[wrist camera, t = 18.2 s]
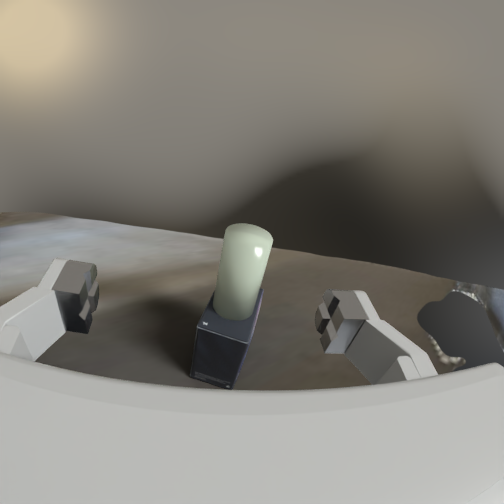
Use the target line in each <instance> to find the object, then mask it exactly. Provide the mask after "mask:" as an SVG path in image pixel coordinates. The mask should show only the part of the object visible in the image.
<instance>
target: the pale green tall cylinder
mask: <svg viewBox="0 0 504 504" xmlns="http://www.w3.org/2000/svg"><path fill="white" fill-rule="evenodd" d="M272 243H273V238H272V236H271V235H270V233H268V232H267V231H266V230H264V229H262V228H260V227H258V226H255V225H251V224H244V223H240V224H233V225H231V226H229V227H228V228H227V229H226V231H225V236H224V242H223V247H222V253H221V258H220V264H219V270H218V276H217V281H216V287H215V293H214V299H213V308H214V310H215V311H216V313H217V314H219V315H220V316H221V317H223V318H225V319H228V320H233V321H241V320H245V319H247V318H249V317H250V316H251V315H252V313H253V310H254V307H255V303H256V300H257V296H258V293H259V289H260V286H261V282H262V279H263V275H264V271H265V268H266V264H267V261H268V257H269V254H270V250H271V246H272Z"/></svg>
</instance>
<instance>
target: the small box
mask: <svg viewBox="0 0 504 504" xmlns="http://www.w3.org/2000/svg"><path fill="white" fill-rule="evenodd" d="M263 291H264V290H263V289H259V293H258V296H257V300H256V303H255V307H254V310H253V313H252V315H251V316H250V317H249V318H247V319H245V320H241V321H233V320H228V319H225V318H223V317H221V316H220V315H219V314H217V313H216V311H215V310H214V308H213V299H214V293H215V291H214V292H213V294H212V296H211V298H210V300H209V302H208V304H207V307H206V308H205V310H204V312H203V314H202V316H201V318H200V320H199V323H198V324H197V328H196V335H195V343H194V349H193V358H192V365H191V371H190V377H192V378H194V379H198V380H201V381H204V382H207V383H210V384H213V385H216V386H219V387H222V388H226V389H229V390H232V389H233V387H234V385H235V382H236V380H237V378H238V375H239V373H240V370H241V367H242V364H243V361H244V359H245V356H246V353H247V350H248V347H249V344H250V341H251V338H252V335H253V332H254V328H255V324H256V321H257V317H258V313H259V309H260V305H261V300H262V295H263Z"/></svg>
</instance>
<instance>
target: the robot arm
mask: <svg viewBox="0 0 504 504" xmlns="http://www.w3.org/2000/svg"><path fill="white" fill-rule="evenodd" d="M96 276H97V269H96V265H95V264H92V263H85V262H79V261H73V260H66V259H60V258H56V259H54V260H53V262H52V263H51V265H50V267H49V268H48V270H47V272H46V273H45V275H44V277H43V278H42V280H41V282H40V284H39V285H38V287H33V288H31V289H29V290H28V291H26V292H24V293H23V294H21V295H19V296H18V297H16V298H14V299H13V300H11V301H9V302H8V303H6V304H5V305H3V306H1V307H0V504H504V367H502V366H501V365H499V364H497V363H489V364H485V365H482V366H478V367H474V368H470V369H465V370H461V371H456V372H451V373H446V374H441V375H438V374H437V372H436V370H435V368H434V366H433V364H432V362H431V361H430V359H429V357H428V355H427V353H426V352H424V351H423V350H422V349H420V348H419V347H418V346H417V345H415V344H414V343H413V342H411V341H410V340H409V339H407V338H406V337H405V336H404V335H402V334H401V333H400V332H398V331H397V330H396V329H394V328H393V327H392V326H390V325H389V324H388V323H387V322H385V321H384V320H380V318H379V317H378V315H377V313H376V311H375V309H374V307H373V305H372V303H371V302H370V300H369V298H368V296H367V294H366V293H365V292H364V291H354V290H352V291H348V290H334V289H327V291H326V292H325V293H324V295H323V300H324V302H323V303H322V304H321V305H319V306H318V308H317V311H316V313H315V326H316V329H317V331H318V332H319V333H320V334H322V336H321V338H320V341H321V344H322V347H323V350H324V353H345V354H344V355H345V356H346V357H347V358H348V359H349V360H350V361H351V362H352V363H353V364H354V365H355V366H356V368H357V369H358V370H359V371H360V372H361V373H362V374H363V375H364V376H365V377H366V378H367V379H368V380H369V382H370V383H371V384H372V385H366V386H356V387H345V388H331V389H314V390H283V391H251V390H220V389H202V388H189V387H177V386H167V385H158V384H149V383H141V382H134V381H127V380H120V379H114V378H108V377H102V376H97V375H91V374H86V373H81V372H76V371H71V370H67V369H62V368H58V367H54V366H49V365H45V364H41V363H37V362H34V361H35V360H36V359H37V358H38V357H39V356H40V355H41V354H42V353H43V352H45V351H46V350H47V349H48V348H49V347H50V346H51V345H52V344H53V343H54V342H55V341H56V340H57V339H59V338H60V337H61V336H62V335H63V334H64V333H65V332H66V331H71V332H77V333H83V334H88V332H89V329H90V326H91V323H92V314H91V313H93V312H94V311H96V308H97V305H98V299H99V285H98V283H97V282H96V281H95V278H96Z"/></svg>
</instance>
